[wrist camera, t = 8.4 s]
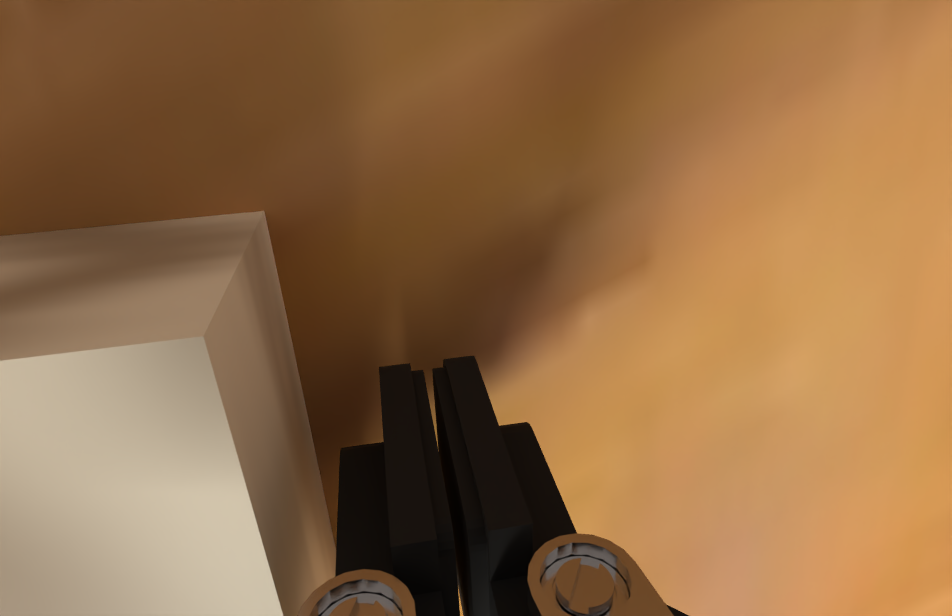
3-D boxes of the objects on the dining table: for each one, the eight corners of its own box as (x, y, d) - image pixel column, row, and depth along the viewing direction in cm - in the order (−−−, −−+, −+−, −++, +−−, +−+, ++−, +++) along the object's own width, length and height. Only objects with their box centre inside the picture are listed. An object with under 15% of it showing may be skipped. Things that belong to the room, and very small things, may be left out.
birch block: (265, 208, 10) (203, 336, 6) (338, 553, 13) (330, 779, 9) (-144, 246, 9) (-537, 425, 5) (49, 603, 13) (-93, 874, 9)
